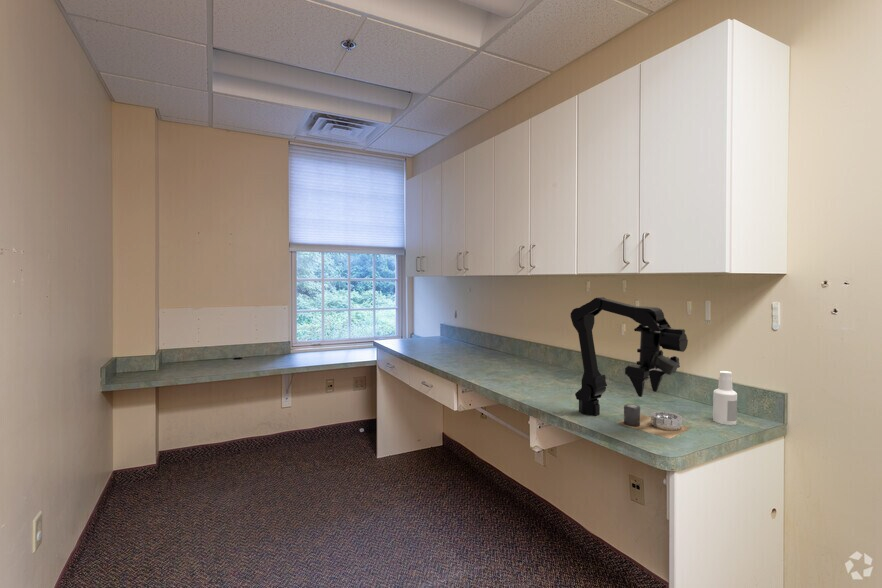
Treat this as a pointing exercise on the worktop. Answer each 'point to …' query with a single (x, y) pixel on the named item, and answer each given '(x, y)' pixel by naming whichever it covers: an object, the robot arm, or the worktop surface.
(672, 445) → the worktop surface
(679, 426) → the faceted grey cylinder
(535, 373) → the worktop surface
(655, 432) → the board
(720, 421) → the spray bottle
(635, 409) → the cap
